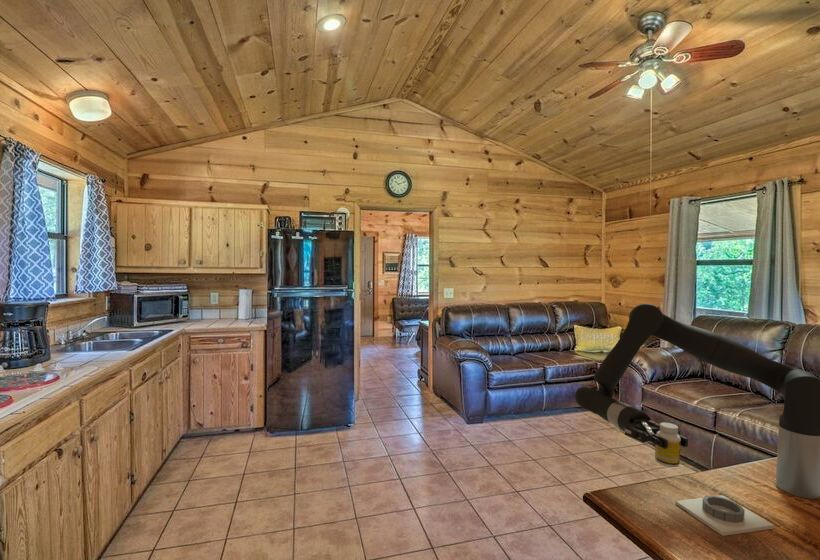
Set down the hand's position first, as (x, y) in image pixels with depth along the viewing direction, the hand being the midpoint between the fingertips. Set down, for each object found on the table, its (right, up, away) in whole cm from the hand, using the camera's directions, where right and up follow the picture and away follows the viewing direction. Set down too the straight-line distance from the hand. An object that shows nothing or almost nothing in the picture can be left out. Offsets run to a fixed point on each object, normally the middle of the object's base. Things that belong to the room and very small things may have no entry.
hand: (676, 443), depth 104 cm
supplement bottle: (-1, -6, +3) cm, 7 cm away
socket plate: (+11, -18, 0) cm, 21 cm away
